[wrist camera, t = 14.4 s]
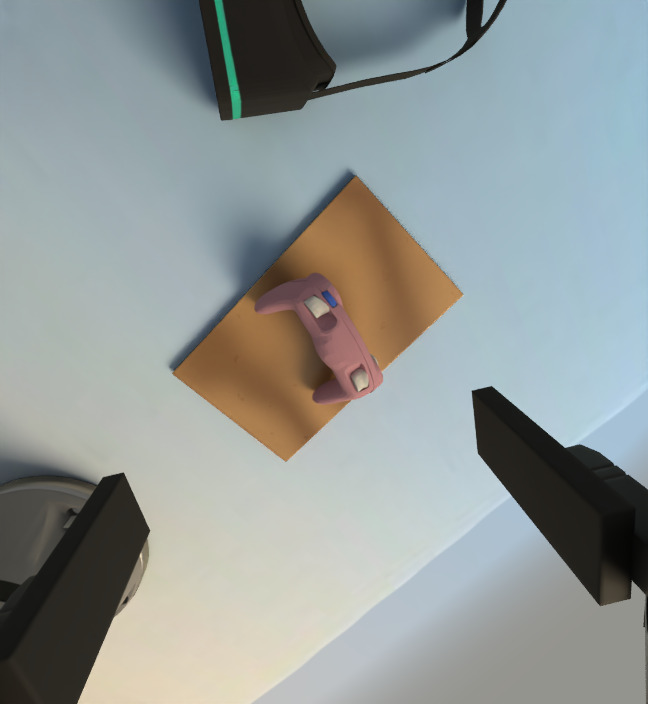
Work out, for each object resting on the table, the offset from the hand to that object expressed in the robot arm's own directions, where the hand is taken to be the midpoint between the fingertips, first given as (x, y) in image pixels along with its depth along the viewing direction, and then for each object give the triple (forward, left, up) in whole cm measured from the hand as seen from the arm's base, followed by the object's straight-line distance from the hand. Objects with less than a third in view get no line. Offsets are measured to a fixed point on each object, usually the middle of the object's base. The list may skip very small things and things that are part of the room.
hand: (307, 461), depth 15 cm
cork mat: (+1, 0, -18) cm, 18 cm away
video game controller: (+1, 0, -17) cm, 17 cm away
